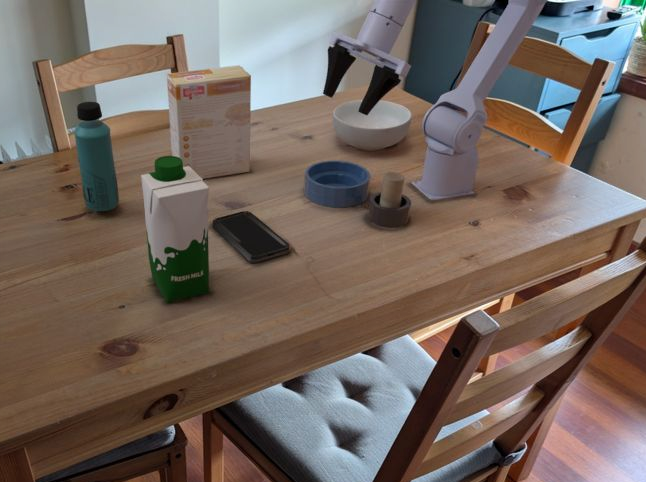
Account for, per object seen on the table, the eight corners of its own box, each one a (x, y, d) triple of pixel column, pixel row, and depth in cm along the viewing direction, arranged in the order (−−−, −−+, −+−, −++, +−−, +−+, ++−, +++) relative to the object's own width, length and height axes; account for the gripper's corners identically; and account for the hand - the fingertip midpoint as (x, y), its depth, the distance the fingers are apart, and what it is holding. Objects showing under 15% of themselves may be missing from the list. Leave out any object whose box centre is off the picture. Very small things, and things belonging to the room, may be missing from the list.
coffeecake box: (239, 159, 146) (240, 64, 134) (250, 172, 141) (252, 75, 129) (171, 169, 143) (165, 72, 130) (180, 183, 137) (175, 83, 125)
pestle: (392, 211, 126) (398, 170, 121) (401, 220, 123) (408, 179, 118) (374, 214, 125) (380, 173, 120) (383, 223, 123) (389, 182, 118)
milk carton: (195, 266, 113) (191, 150, 101) (217, 295, 107) (215, 174, 94) (145, 278, 110) (133, 160, 98) (164, 308, 104) (154, 186, 91)
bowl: (351, 178, 139) (353, 157, 136) (378, 205, 129) (381, 183, 127) (294, 186, 136) (295, 164, 133) (318, 214, 127) (320, 192, 124)
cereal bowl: (331, 128, 159) (334, 97, 155) (404, 131, 158) (409, 100, 153) (329, 157, 146) (332, 125, 142) (409, 161, 145) (414, 128, 140)
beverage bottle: (127, 206, 130) (115, 100, 117) (108, 222, 125) (94, 113, 113) (98, 200, 132) (83, 95, 119) (78, 215, 127) (61, 107, 115)
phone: (247, 209, 126) (292, 246, 115) (247, 215, 126) (291, 252, 116) (209, 219, 123) (251, 258, 113) (209, 225, 124) (251, 264, 113)
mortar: (396, 209, 128) (399, 189, 126) (414, 227, 123) (418, 206, 120) (360, 214, 127) (363, 194, 124) (378, 232, 121) (381, 212, 119)
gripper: (337, -4, 107) (299, 82, 112) (412, 26, 100) (367, 116, 105) (359, 11, 112) (321, 92, 117) (431, 40, 105) (387, 125, 110)
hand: (344, 104), depth 112 cm, fingers open, 7 cm apart
